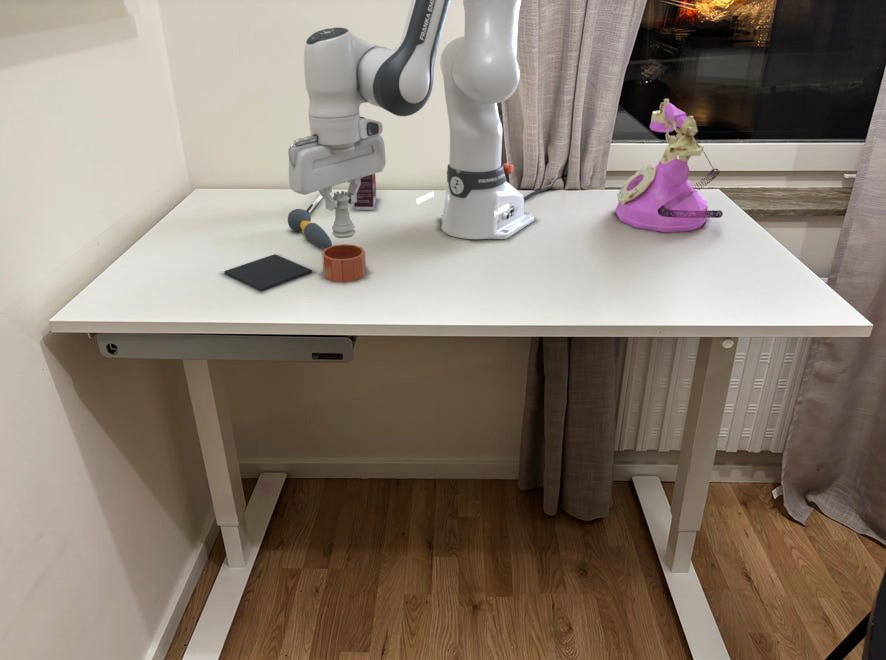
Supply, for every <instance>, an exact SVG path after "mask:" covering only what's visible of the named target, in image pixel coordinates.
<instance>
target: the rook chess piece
mask: <svg viewBox="0 0 886 660" xmlns="http://www.w3.org/2000/svg"><path fill="white" fill-rule="evenodd" d="M347 192H348V191H343V190H341V191H336V192H334V193H333V196H332V198H333V199H336V200H337V205H338V208H337V209H334V210H335V217H334V221H333V225H332V226H331V230H332V232H331V234H332V236H334V237H335V238H337V239H349V238H351V237H353V236H354V235H355V234H356V226H355V224H354V223H353V221H352V220H351V216H350V212H349V208H350V204H349V203H348V201H349V199H350V197H349V196H348V194H347Z"/></svg>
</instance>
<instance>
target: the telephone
mask: <svg viewBox="0 0 886 660" xmlns="http://www.w3.org/2000/svg"><path fill="white" fill-rule="evenodd" d="M694 117H695V116H693V115H689V116H688V115H687V113H686V112H685V111H683V110H681V109H680V108H677V106H676V105H674V104H673V103H671V102H670V99H669V98H664V99H663V102H660V105H659V110H653V111H652V114H651V119H650V124H649V129H650V131H652V132H657V133H665V140H666V142H667V144H668V145H667V147H666V148H665V150H664V152H663V153H662V156H661V158H660V160H659V162H658V164H657V165H656V166H655V167H654V166H653V165H651V164H649V165H647V166H645V167H643V168H641V169H639V170H637V171H636V172H634V173H633V175H632V176H630V177H629V178H627V180H626V181H625V182H624V183H623V185H622V186H621V187H620V189H619V191H618V192H617V201H618V203H617V205H616V208H615V214H616V216H617V218H618V219H619V221H620V222H622V223H624V224H627V225H629V226H631V227H633V228H635V229H636V228H637V229H643V230H648V231H653V232H661V233H679V232H691V231H694V230H697V229H700V228H701V227H702V226H703V225H704V224H705V223H706V222H707V220H708V219H711V218H712V219H718V218H719V219H720V218H722V216H723V215H724V212H723V211H722V210H720V209H719V210H715V209H714V210H708V208H709V206H708V203H707V201H706V199H705V198H704V197H703V196H702V195H701V194H700V193H699V191H700V190H702V189H703V186H704V187H706V186H707V185H708V184H711V183H710V182H712V181H713V180H714V179H715V178H717V176H718V174H720V170H719V169H718V168H714V166H713V165H712V163H711V161H710V160H709V158H708V156H707V154H706V152H705V151H704V146H703V145H701V143H700V141H699V139H698V137H697V133H698V132H699V130H698V125H697V121H696V120H695V119H694ZM673 131H675V133H677V134H676V135H670V133H671V132H673ZM694 136H695V137H696V138H695V137H694ZM702 153H703V154H704V155H705V158H706V159H707V161H708V163H709V165H710V167H711V168H712V169H711V170H710V172H708V174H707V175H706V176H705V177H704V178H701V180H699V181H698V182H696V184H695V185H694V186H693V185H692V183H691V182H690V180H689V176H690V167H689V165H688V162H689V161H690V158H692V157H697V156H701V155H702ZM697 187H698V188H697ZM695 188H697V189H695Z"/></svg>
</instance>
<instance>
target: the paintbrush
mask: <svg viewBox="0 0 886 660" xmlns="http://www.w3.org/2000/svg"><path fill="white" fill-rule="evenodd" d="M311 219H312V218H311V215H310V214H308V212H307V211H306V209H303V208H302V209H301V208H295V209H292V210H290V212H288V215H287V224H288V227H289V228H290V229H291V230H292V231H293V232H296V233H302V234H303V236H304V237H305V238H306V239H307V240H308V241H309V242H310V243H312V244H313V245H315V246H317V247H319V248H322V249H324V250H325V249H326V248H328V247H331V246H333V242H332V240H331V238H330V236H329V235H328V233H327V232H326V230H325V229H323V228H322V227H321V226H320V225H319V224H317V223H316V222H313V221H311Z"/></svg>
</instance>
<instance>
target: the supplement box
mask: <svg viewBox="0 0 886 660" xmlns="http://www.w3.org/2000/svg"><path fill="white" fill-rule="evenodd" d="M360 179H361V184H360V187H359V189H358V192H357V193H356V194H357V202H356V203H353V205H354V206H353V207H354V211H374V209H375V204H376V201H377V180H376V173H375V174H372V175H368V176H365V177H362V178H360Z"/></svg>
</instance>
